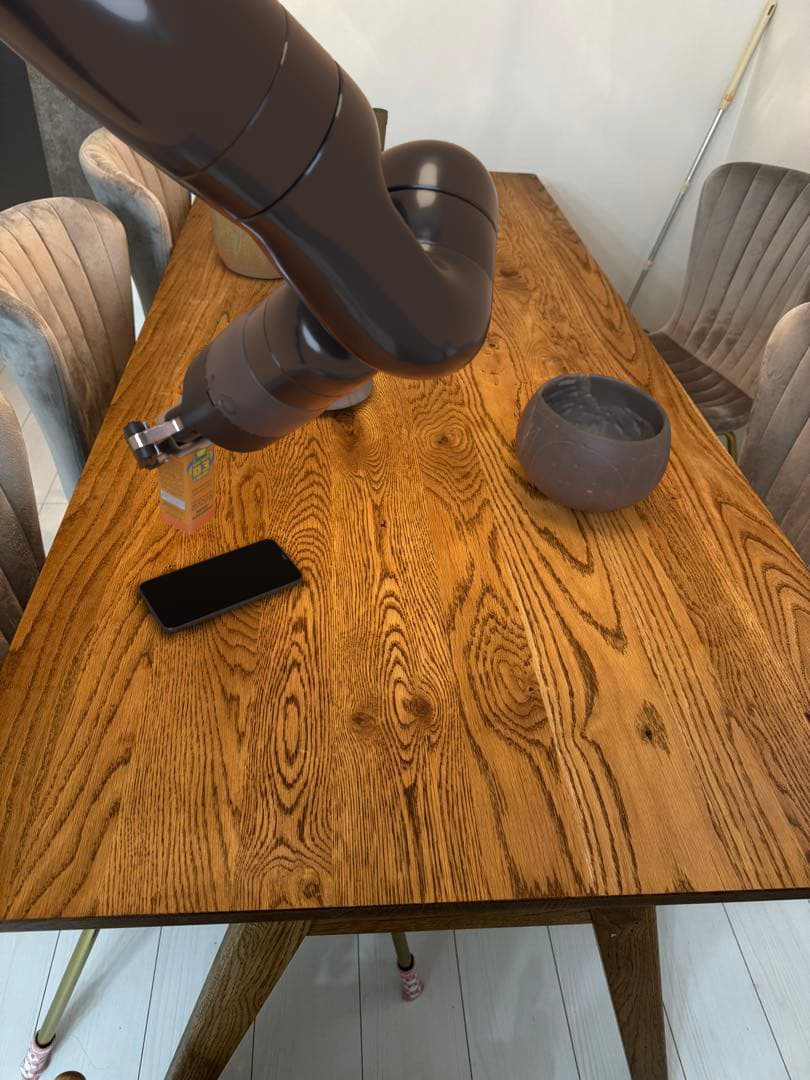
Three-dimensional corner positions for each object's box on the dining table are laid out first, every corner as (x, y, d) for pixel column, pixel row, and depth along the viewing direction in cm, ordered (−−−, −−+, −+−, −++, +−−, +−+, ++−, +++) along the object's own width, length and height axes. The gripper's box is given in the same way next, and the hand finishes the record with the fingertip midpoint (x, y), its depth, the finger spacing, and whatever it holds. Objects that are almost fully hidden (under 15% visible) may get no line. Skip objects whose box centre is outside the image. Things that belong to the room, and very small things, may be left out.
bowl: (535, 434, 110) (557, 349, 101) (664, 483, 104) (699, 397, 96) (481, 499, 97) (502, 409, 89) (625, 559, 92) (661, 468, 84)
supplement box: (191, 537, 66) (183, 434, 59) (160, 520, 67) (148, 417, 60) (219, 517, 68) (214, 415, 62) (188, 501, 69) (180, 399, 63)
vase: (191, 257, 140) (181, 82, 122) (266, 236, 150) (267, 72, 133) (260, 293, 132) (260, 112, 115) (333, 268, 143) (344, 99, 125)
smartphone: (166, 638, 75) (307, 583, 83) (165, 632, 75) (307, 577, 82) (135, 589, 80) (271, 540, 87) (134, 582, 79) (271, 534, 86)
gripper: (326, 296, 55) (224, 379, 68) (135, 351, 46) (64, 433, 60) (372, 399, 55) (263, 460, 69) (194, 471, 47) (110, 525, 61)
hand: (171, 447), depth 65 cm, fingers closed on supplement box, 4 cm apart
